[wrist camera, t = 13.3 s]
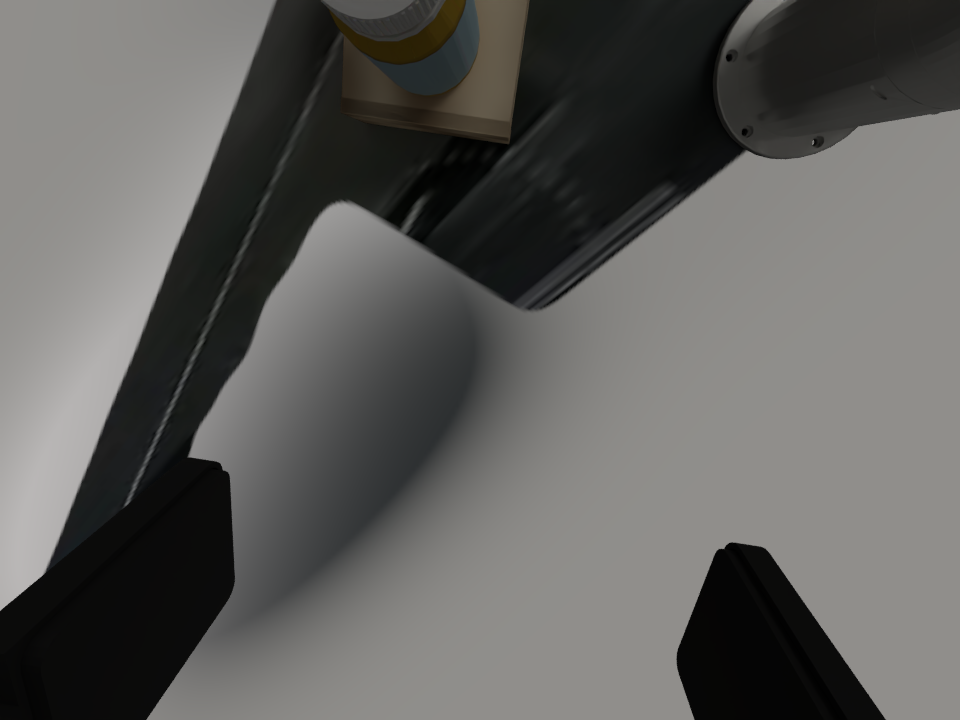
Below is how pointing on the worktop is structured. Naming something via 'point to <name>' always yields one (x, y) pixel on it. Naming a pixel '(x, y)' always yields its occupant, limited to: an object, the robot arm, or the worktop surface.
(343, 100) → the chopping block
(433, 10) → the bottle
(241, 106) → the worktop surface
